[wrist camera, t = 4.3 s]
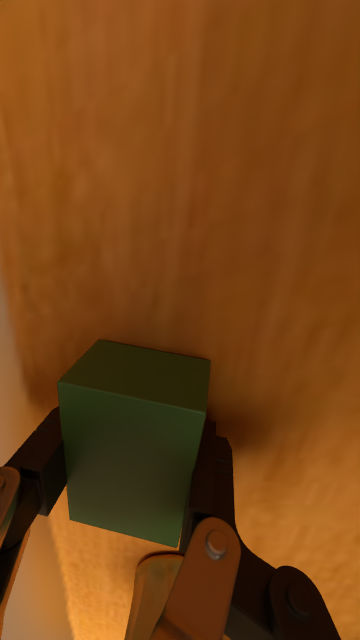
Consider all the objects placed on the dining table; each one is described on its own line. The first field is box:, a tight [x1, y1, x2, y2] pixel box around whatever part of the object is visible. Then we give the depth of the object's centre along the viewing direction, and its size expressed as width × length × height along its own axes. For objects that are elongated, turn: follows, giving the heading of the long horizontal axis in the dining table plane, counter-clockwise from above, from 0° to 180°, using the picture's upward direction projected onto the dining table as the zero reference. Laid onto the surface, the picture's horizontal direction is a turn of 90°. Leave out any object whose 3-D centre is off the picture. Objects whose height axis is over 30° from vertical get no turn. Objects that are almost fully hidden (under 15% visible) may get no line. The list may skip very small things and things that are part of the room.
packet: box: [57, 340, 211, 548], centre depth 10 cm, size 7×4×3 cm, turn 173°
